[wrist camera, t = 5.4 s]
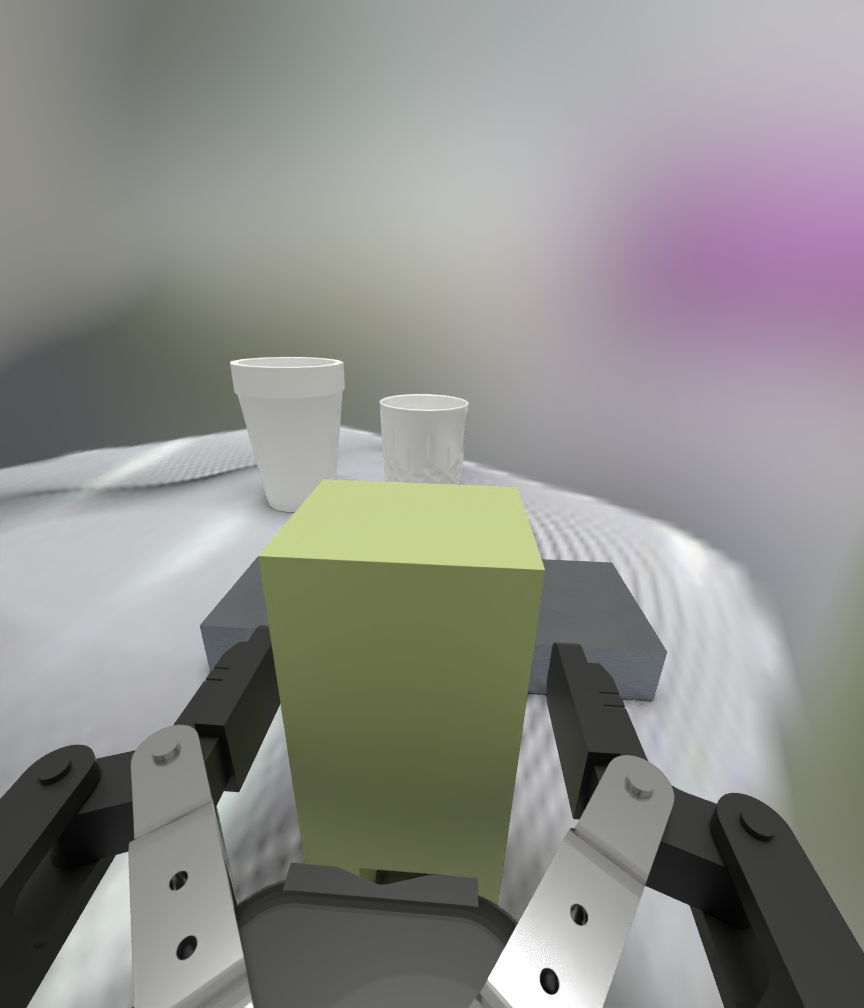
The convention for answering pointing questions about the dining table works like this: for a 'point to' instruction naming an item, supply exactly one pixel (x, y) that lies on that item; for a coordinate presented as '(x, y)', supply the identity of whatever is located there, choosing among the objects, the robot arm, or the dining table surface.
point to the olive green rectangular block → (404, 671)
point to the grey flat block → (562, 618)
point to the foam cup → (291, 422)
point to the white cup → (423, 438)
